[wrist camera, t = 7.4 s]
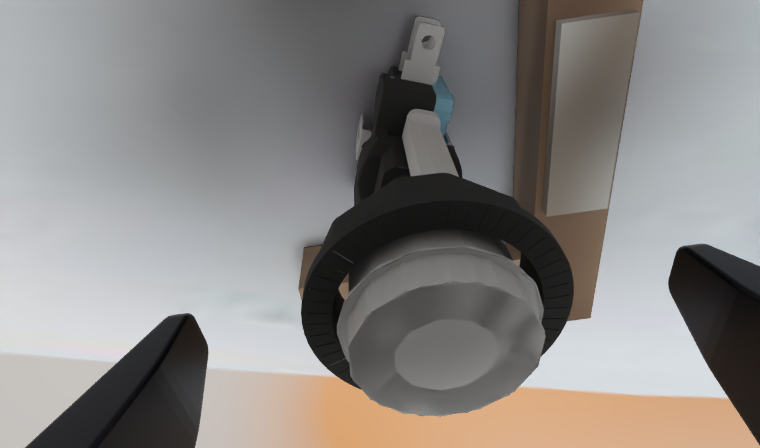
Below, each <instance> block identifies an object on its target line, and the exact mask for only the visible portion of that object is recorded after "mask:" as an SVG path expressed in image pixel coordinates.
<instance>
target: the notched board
mask: <svg viewBox="0 0 760 448" xmlns="http://www.w3.org/2000/svg"><path fill="white" fill-rule="evenodd" d="M642 5H643V0H519V23H518V54H517V86H516V118H515V149H514V181H513V198H514V199H515V200H516V201H517V202H518V203H519V205H520V206H521V208H523V209H524V210H526V211H528V212H529V213H531V214H532V215H533V216H535V217H536V218H537V219H538V220H540V221H541V222H542V223H543V224H544V225H545V226H546V227H547V228H548V229H549V230H550V232H551V233H552V234H553V236H554V237H555V239H556V240H557V242H558V243H559V245H560V247H561V248H562V250H563V252H564V254H565V255H566V257H567V259H568V261H569V264H570V267H571V270H572V275H573V281H574V296H573V304H572V308H571V311H570V315H569V317H568V319H567V321H571V320H579V319H586V318H590V317H591V311H592V305H593V299H594V293H595V287H596V281H597V275H598V269H599V263H600V257H601V251H602V245H603V239H604V233H605V227H606V221H607V215H608V209H609V203H610V197H611V191H612V185H613V179H614V173H615V167H616V161H617V155H618V149H619V143H620V137H621V131H622V125H623V119H624V113H625V107H626V101H627V95H628V89H629V83H630V77H631V71H632V65H633V59H634V53H635V47H636V41H637V35H638V29H639V23H640V17H641V11H642ZM505 244H506V246H507V248H508V250H509V252H510V255H511V257H512V259H513V261H514V262H515V263H516V264H517V265H518V266H519V265H520V259H521V252H520V251H519V250H517V249H516V248H515V247H513V246H512V245H510V244H508V243H506V242H505ZM321 247H322V245H321V246H314V247H307V248H304V253H303V260H302V267H301V274H300V282H299V292H300V296H301V299H302V297H303V290H304V285H305V280H306V277H307V274H308V271H309V269H310V267H311V265H312V263H313V261H314V259H315V257H316V256H317V254H318V253H319V251H320V249H321ZM338 289H339V291H340V293H341V295H342V297H343V298H344V300H345V299H346V297H347V295H348V291H349V273H348V274H347V276H346V277H345V278H344V280H343V281H342V283H341V285H340V286H339V288H338Z"/></svg>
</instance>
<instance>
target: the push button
mask: <svg viewBox="0 0 760 448" xmlns="http://www.w3.org/2000/svg"><path fill="white" fill-rule="evenodd" d="M444 34H445V29H444V27H443V26H440V22H439V20H435V19H431V18H426V17H422V16H417V17H416V18H415V21H414V25H413V29H412V33H411V38H410V42H409V46H408V51H407V52H405V51H402V55H401V60H400V64H399V68H397V67H392V66H391V67H390V70H389V74H383V73H382V74H381V75H380V78H379V82H378V87H377V93H376V102H375V114H374V124H373V129H372V131H370V130H365V129H364V117H363V115H361V117H360V121H359V126H358V131H357V137H356V160H357V161H358V164H357V174H356V179H355V186H354V207H353V208H351V209H350V210H348V211H347V212H345V213H344V214H342V215H341V216H339V217H338V218H336V219H335V220H334V221H333V223H332V225H331V227H330V229H329V232H328V234H327V236H326V238H325V240H324V243H323V245H322V247H321V249H320V251H319V253H318V254H317V256H316V257H315V259H314V261H313V263H312V265H311V267H310V269H309V271H308V274H307V277H306V280H305V285H304V290H303V297H302V308H301V317H302V326H303V330H304V334H305V336H306V339H307V341H308V344H309V346H310V347H311V349H312V351H313V352H314V354H315V355H316V356H317V358H318V359H319V360H320V362H321V363H322V364H323V365H324V366H325V367H326V368H327V369H328V370H330V371H331V372H332V373H333V374H335V375H336V376H337V377H339V378H340V379H342V380H343V381H345V382H347V383H349V384H351V385H352V386H355V387H357V388H359V389H361V390H363V391H364V392H365V394H366V395H367V396H368V397H369V398H370V399H371V400H373V401H375V402H377V403H378V404H379V405H381V406H385V407H389V408H391V409H394V410H397V411H399V412H401V413H405V414H415V415H419V416H446V415H451V414H456V413H467V412H470V411H472V410H477V409H481V408H483V407H485V406H487V405H489V404H491V403H493V402H495V401H497V400H499V399H501V398H503V397H506V396H508V395H510V394H511V393H512V392H514V391H515V390H516V389H517V388H518V387H519V386H520V385H521V384H522V383H523V382H524V381H525V380H526V379H527V378H528V376H529V375H530V374H531V373H532V372H533V371H534V370H535V369H536V368H537V367H538V365H539V361H540V357H541V356H542V355H543V354H544V353H545V352H546V351H547V350H548V349H549V348H550V347H551V345H552V344H553V343H554V342H555V340H556V339H557V338H558V336H559V335H560V333H561V331H562V330H563V328H564V326H565V324H566V322H567V319H568V317H569V315H570V311H571V308H572V304H573V296H574V281H573V275H572V270H571V267H570V264H569V261H568V259H567V257H566V255H565V254H564V252H563V250H562V248H561V247H560V245H559V243H558V242H557V240H556V239H555V237H554V236H553V234H552V233H551V232H550V230H549V229H548V228H547V227H546V226H545V225H544V224H543V223H542V222H541V221H540V220H538V219H537V218H536V217H535V216H533V215H532V214H531V213H529V212H528V211H526V210H524V209H523V208H521V206H520V205H519V203H518V202H517V201H516V200H515V199H514V198H512V197H510V196H507V195H504V194H502V193H499V192H497V191H494V190H492V189H489V188H486V187H484V186H481V185H479V184H476V183H473V182H471V181H468V180H466V179H463V178H462V169H461V165H460V162H459V159H458V157H457V154H456V152H455V150H454V146H452V144H450V143H451V141H450V139H449V136H448V134H447V132H446V127H447V124H448V123H449V121H450V118H451V114H452V111H453V106H454V98H453V96H452V94H451V93H450V92H449V90H448V88H447V86H446V84H445V82H444V81H443V79H442V77H441V76H439V72H440V68H441V66H438V65H436V64H437V60H438V57H439V53H440V49H441V45H442V42H443V38H444ZM428 35H430V36H431V37H430V39H429V40H428V41H427V42H421V41H422V39H423V38H424V37H425V36H428ZM505 242H506V243H508V244H510V245H512V246H513V247H515V248H516V249H517V250H519V251H520V252H521V259H520V265H519V266H518V265H517V264H516V263H515V262H514V261H513V259H512V257H511V255H510V252H509V250H508V248H507V246H506V244H505ZM348 273H349V291H348V295H347V297H346V299H345V300H344V298H343V297H342V295H341V293H340V291H339V289H338V288H339V286H340V285H341V283H342V281H343V280H344V278H345V277H346V276H347V274H348Z"/></svg>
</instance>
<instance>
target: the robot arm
mask: <svg viewBox="0 0 760 448" xmlns="http://www.w3.org/2000/svg"><path fill="white" fill-rule="evenodd" d="M668 285H669V290H670V293H671V296H672V297H673V299H674V301H675V303H676V305H677V307H678V309H679V311H680V313H681V315H682V317H683V319H684V321H685V323H686V325H687V327H688V329H689V331H690V333H691V335H692V336H693V338H694V340H695V342H696V344H697V346H698V348H699V350H700V352H701V354H702V356H703V358H704V359H705V361H706V363H707V365H708V367H709V368H710V370H711V371H712V373H713V375H714V376H715V378H716V379H717V381H718V382H719V384H720V385H721V387H722V388H723V390H724V392H725V393H726V395H727V396H728V398H729V399H730V400H731V402H732V404H733V405H734V407H735V408H736V410H737V411H738V413H739V414H740V416H741V417H742V419H743V420H744V422H745V423H746V425H747V427H748V428H749V430H750V431H751V433H752V434H753V436H754V437H755V439H756V440H757V442H758V443H759V445H760V266H758V265H755V264H753V263H751V262H748V261H746V260H743V259H741V258H738V257H736V256H734V255H731V254H729V253H726V252H724V251H722V250H719V249H717V248H714V247H712V246H710V245H707V244H695V245H687V246H682V247H680V248H679V249H678V250H677V252H676V255H675V259H674V262H673V266H672V269H671V273H670V277H669V281H668ZM207 361H208V345H207V342H206V340H205V338H204V336H203V334H202V332H201V330H200V328H199V326H198V323H197V321H196V319H195V318H194V316H193V315H192V314H189V313H185V314H177V315H171V316H168V317H167V318H165V319H164V320H163V321H162V322H161V323H160V324H159V325H158V326H157V327H155V328H154V329H153V330H152V331H151V332H150V333H149V334H148V335H147V336H146V337H145V338H144V339H142V340H141V341H140V342H139V343H138V344H137V345H136V346H135V347H134V348H133V349H132V350H131V351H129V352H128V353H127V354H126V355H125V356H124V357H123V358H122V359H121V360H120V361H119V362H117V363H116V364H115V365H114V366H113V367H112V368H111V369H110V370H109V371H108V372H107V373H106V374H104V375H103V376H102V377H101V378H100V379H99V380H98V381H97V382H96V383H95V384H94V385H93V386H91V388H89V389H88V390H87V391H86V392H85V393H84V394H83V395H82V396H81V397H80V398H78V399H77V400H76V401H75V402H74V403H73V404H72V405H71V406H70V407H69V408H68V409H67V410H65V411H64V412H63V413H62V414H61V415H60V416H59V417H58V418H57V419H56V420H55V421H53V423H51V424H50V425H49V426H48V427H47V428H46V429H45V430H44V431H43V432H41V433H40V434H39V435H38V436H37V437H36V438H35V439H34V440H33V441H32V442H31V443H30V444H28V445H27V446H26V447H25V448H195V445H196V440H197V435H198V430H199V424H200V417H201V409H202V401H203V392H204V385H205V377H206V369H207Z"/></svg>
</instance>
